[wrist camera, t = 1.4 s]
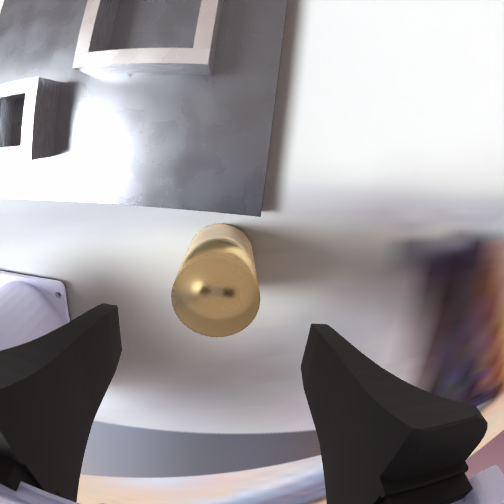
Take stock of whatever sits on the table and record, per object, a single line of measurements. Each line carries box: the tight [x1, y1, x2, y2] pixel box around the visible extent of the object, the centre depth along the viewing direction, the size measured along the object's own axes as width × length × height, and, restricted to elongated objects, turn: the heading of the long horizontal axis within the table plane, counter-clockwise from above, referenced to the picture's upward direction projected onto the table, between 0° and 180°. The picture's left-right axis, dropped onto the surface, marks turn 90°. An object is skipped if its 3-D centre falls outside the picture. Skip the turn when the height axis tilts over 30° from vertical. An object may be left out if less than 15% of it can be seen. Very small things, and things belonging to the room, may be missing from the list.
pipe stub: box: [171, 224, 260, 337], centre depth 17 cm, size 4×4×6 cm
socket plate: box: [0, 0, 287, 217], centre depth 14 cm, size 16×20×4 cm
